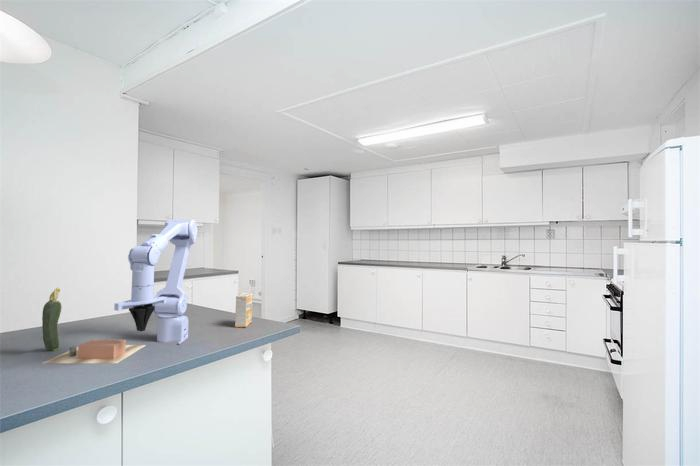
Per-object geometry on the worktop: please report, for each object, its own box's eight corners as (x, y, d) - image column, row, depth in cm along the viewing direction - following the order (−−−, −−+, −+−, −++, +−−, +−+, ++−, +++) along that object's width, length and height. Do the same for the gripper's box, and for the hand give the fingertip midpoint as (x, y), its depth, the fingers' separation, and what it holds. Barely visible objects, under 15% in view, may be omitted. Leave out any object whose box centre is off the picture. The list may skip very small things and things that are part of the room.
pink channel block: (125, 352, 103) (125, 339, 103) (113, 359, 98) (114, 345, 98) (91, 352, 103) (92, 339, 103) (77, 358, 97) (78, 345, 97)
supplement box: (246, 328, 138) (247, 296, 138) (234, 327, 138) (235, 295, 138) (252, 323, 146) (253, 293, 146) (241, 322, 146) (242, 292, 146)
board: (146, 347, 111) (146, 337, 111) (116, 365, 95) (117, 354, 95) (82, 347, 109) (82, 337, 109) (41, 366, 93) (41, 354, 93)
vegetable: (43, 356, 101) (46, 289, 101) (38, 353, 103) (41, 288, 103) (61, 352, 104) (64, 288, 105) (56, 349, 107) (59, 286, 107)
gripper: (158, 281, 110) (156, 323, 110) (109, 286, 97) (107, 333, 97) (171, 283, 107) (169, 326, 106) (123, 289, 94) (121, 337, 93)
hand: (141, 330), depth 101 cm, fingers closed
